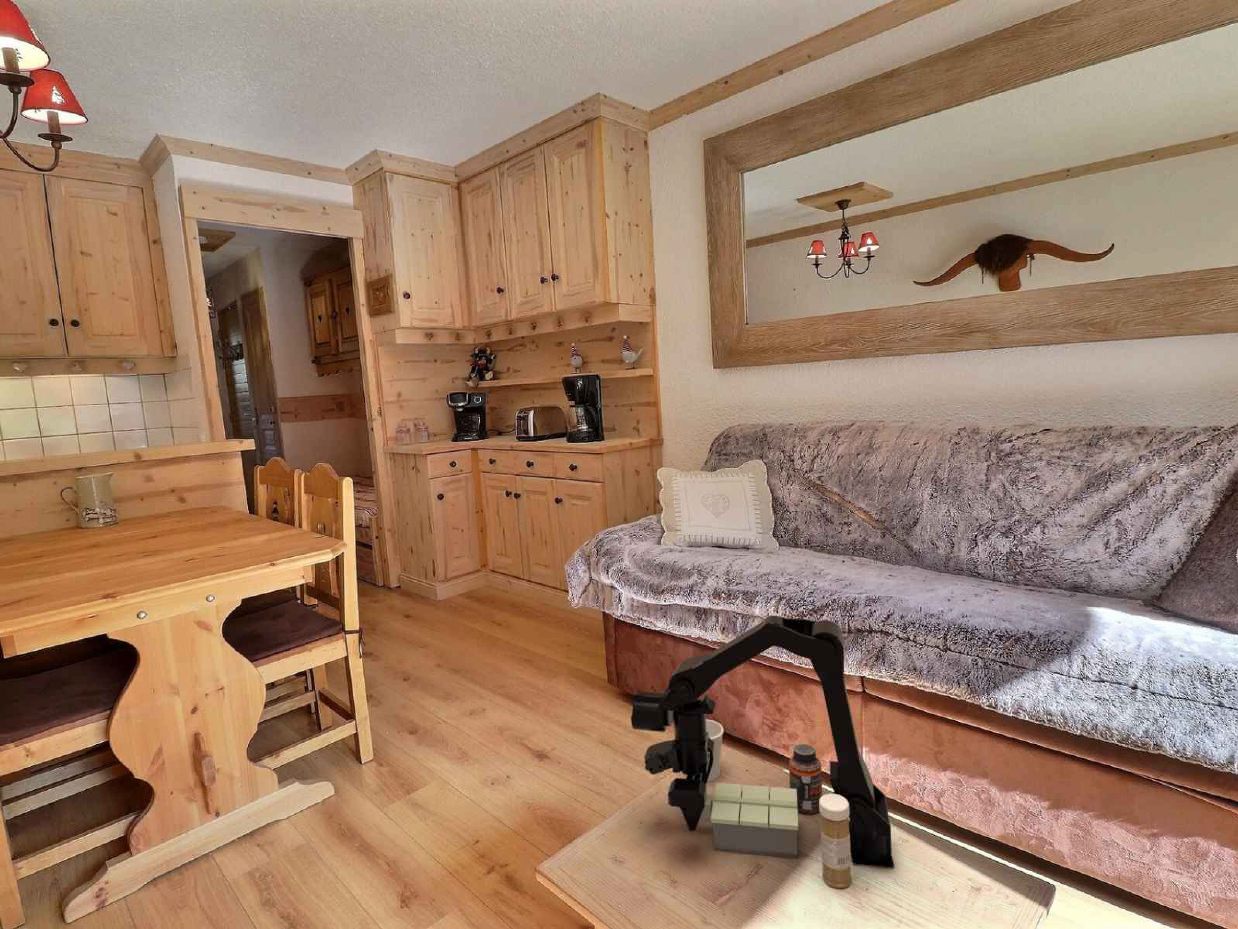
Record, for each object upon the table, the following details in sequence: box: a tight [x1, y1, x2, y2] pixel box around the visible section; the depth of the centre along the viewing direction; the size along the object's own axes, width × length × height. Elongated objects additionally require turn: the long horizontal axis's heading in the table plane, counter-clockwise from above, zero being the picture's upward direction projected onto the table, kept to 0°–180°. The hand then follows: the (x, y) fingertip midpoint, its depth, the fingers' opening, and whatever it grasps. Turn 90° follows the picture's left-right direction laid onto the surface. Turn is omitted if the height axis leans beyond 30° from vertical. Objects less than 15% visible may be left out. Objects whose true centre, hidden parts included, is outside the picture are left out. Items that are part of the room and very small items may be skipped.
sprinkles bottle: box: [818, 793, 853, 889], centre depth 105 cm, size 5×5×14 cm
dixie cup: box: [706, 718, 724, 783], centre depth 137 cm, size 8×8×10 cm
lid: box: [682, 782, 799, 831], centre depth 118 cm, size 20×11×4 cm, turn 76°
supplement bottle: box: [788, 743, 823, 815], centre depth 125 cm, size 6×6×11 cm
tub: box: [712, 792, 799, 859], centre depth 118 cm, size 14×10×5 cm
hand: (695, 814), depth 120 cm, fingers open, 9 cm apart
